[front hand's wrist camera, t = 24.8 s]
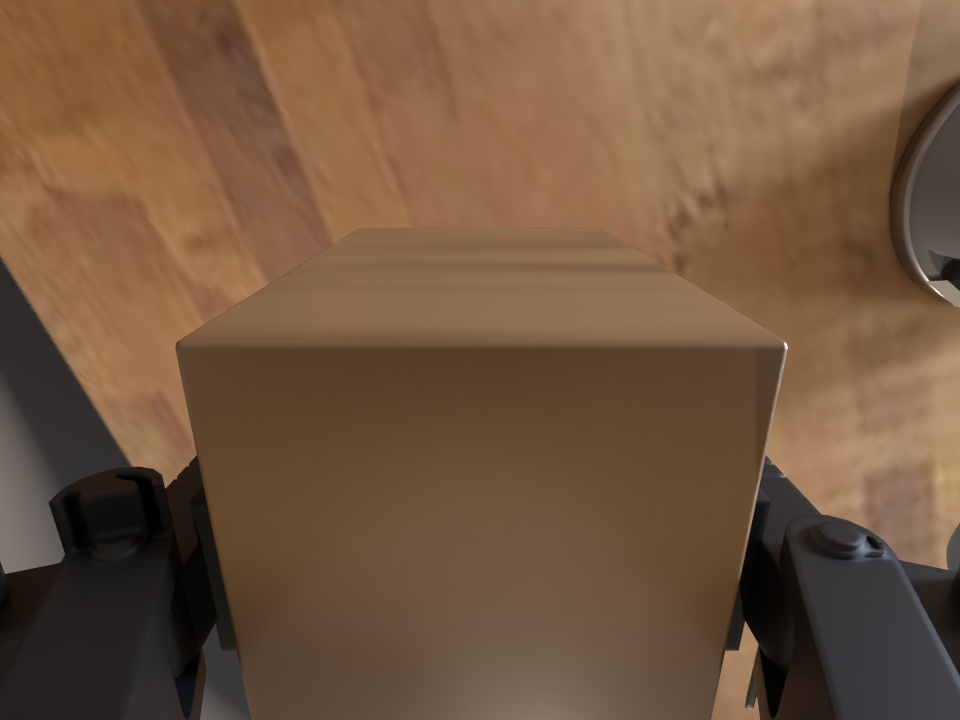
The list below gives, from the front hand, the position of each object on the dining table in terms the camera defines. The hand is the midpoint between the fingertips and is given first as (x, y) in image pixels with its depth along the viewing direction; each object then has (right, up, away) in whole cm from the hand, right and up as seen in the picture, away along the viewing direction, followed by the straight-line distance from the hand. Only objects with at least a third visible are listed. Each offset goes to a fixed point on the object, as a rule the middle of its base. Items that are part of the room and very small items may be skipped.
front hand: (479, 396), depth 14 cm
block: (0, +1, +2) cm, 2 cm away
